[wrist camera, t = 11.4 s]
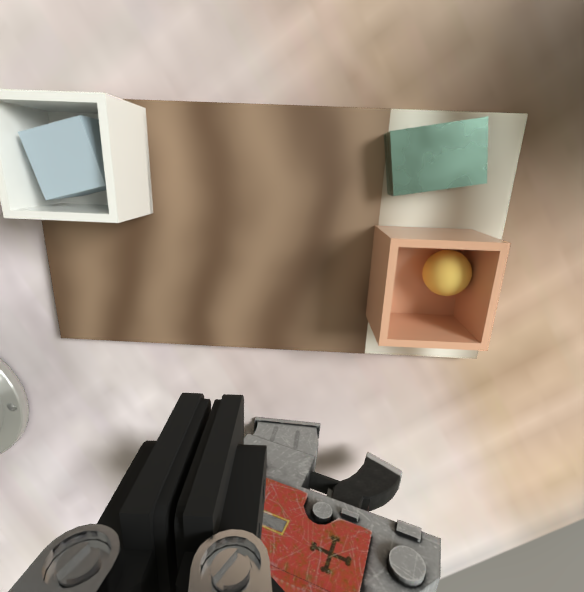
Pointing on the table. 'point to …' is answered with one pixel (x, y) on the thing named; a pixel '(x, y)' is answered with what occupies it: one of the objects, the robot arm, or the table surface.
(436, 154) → the tin
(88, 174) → the block
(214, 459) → the robot arm
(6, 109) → the white open cubby box
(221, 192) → the board
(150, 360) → the table surface
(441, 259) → the ball
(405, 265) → the peach open cubby box
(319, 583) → the toy gun
